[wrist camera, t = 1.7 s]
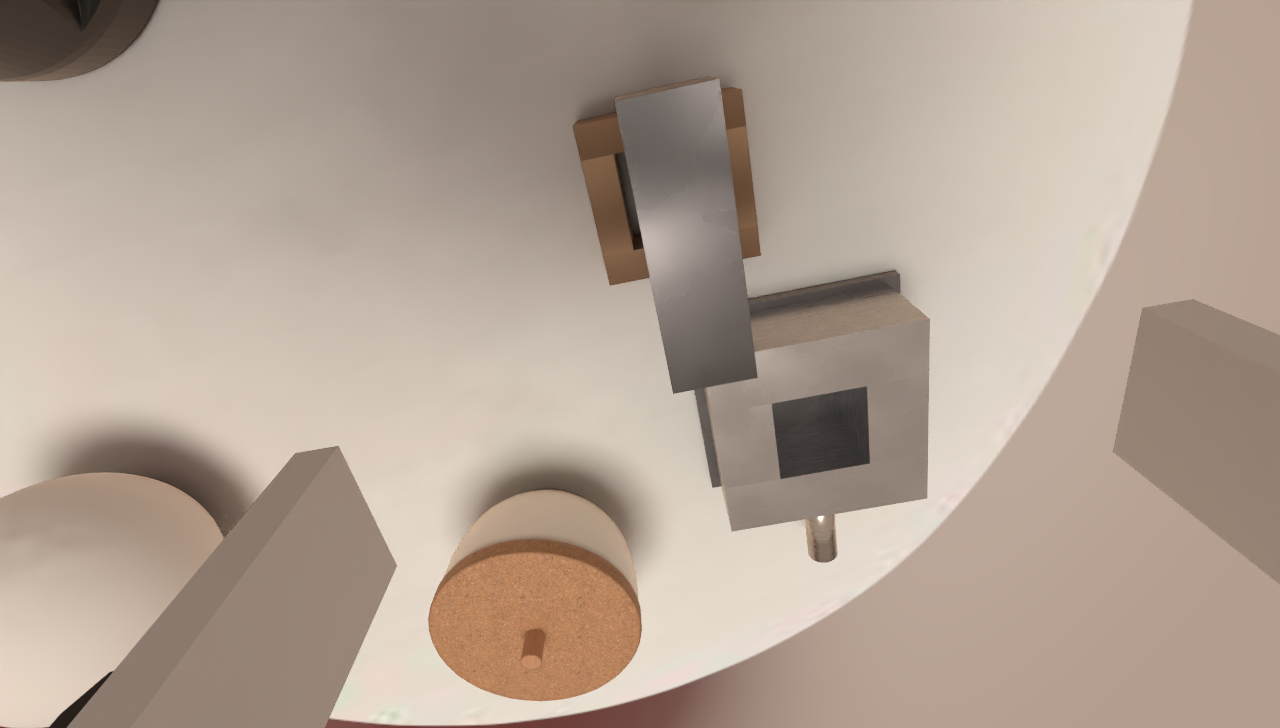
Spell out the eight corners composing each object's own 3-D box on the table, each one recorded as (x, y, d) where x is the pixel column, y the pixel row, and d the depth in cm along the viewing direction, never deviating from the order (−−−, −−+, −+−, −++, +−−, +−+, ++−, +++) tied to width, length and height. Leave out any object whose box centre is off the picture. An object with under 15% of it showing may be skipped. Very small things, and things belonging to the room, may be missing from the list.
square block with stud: (680, 312, 31) (689, 354, 27) (895, 270, 31) (941, 306, 26) (720, 532, 38) (733, 594, 33) (898, 501, 37) (935, 561, 33)
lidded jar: (641, 457, 35) (646, 580, 27) (636, 591, 40) (639, 731, 32) (455, 455, 35) (401, 579, 27) (472, 591, 40) (431, 733, 31)
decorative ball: (73, 394, 33) (-196, 555, 22) (296, 483, 36) (154, 663, 25) (41, 542, 37) (-196, 736, 26) (241, 611, 40) (101, 811, 29)
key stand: (576, 121, 27) (573, 126, 25) (731, 87, 27) (741, 89, 24) (611, 269, 30) (609, 285, 28) (750, 241, 30) (760, 255, 28)
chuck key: (618, 87, 27) (614, 102, 16) (681, 73, 26) (719, 78, 16) (656, 279, 31) (673, 393, 20) (710, 268, 30) (757, 377, 20)
